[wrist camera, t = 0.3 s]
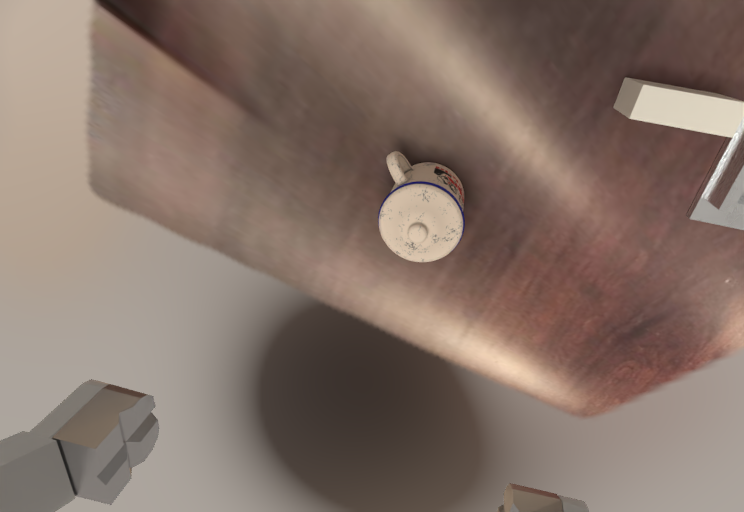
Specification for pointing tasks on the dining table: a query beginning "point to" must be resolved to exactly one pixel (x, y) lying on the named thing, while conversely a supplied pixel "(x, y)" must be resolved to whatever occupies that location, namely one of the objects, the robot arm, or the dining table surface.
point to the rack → (723, 186)
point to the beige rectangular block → (679, 107)
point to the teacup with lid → (422, 210)
